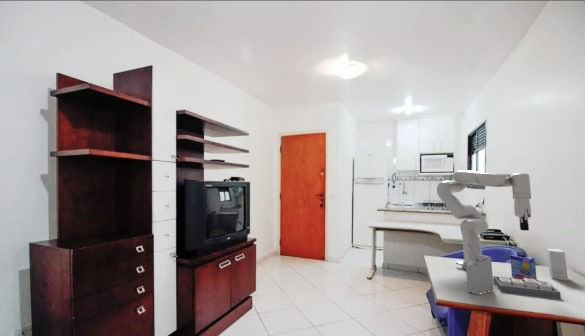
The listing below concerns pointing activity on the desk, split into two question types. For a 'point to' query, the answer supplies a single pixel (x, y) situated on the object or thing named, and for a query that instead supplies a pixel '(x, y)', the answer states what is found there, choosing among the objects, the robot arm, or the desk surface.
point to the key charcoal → (544, 286)
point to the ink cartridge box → (523, 266)
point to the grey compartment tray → (527, 289)
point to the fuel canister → (479, 273)
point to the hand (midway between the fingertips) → (524, 230)
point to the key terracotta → (518, 282)
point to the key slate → (505, 281)
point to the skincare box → (557, 264)
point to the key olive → (530, 283)
